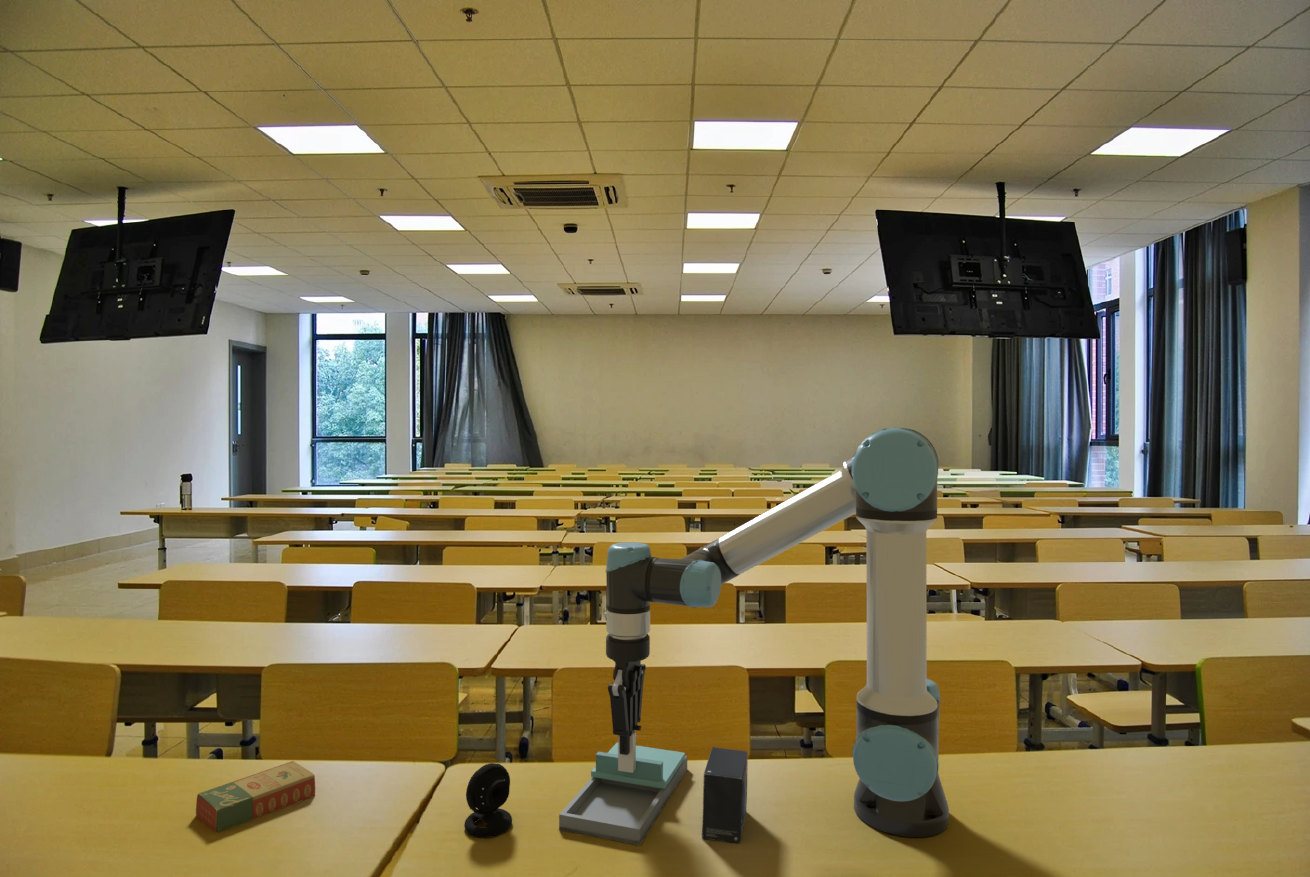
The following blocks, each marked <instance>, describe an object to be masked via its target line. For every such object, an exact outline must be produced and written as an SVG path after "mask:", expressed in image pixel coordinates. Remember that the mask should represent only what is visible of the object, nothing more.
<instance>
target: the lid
mask: <svg viewBox="0 0 1310 877" xmlns="http://www.w3.org/2000/svg"><path fill="white" fill-rule="evenodd" d="M685 756H686V752H682V751H677V750H668V749H662V748H656V747H649V746H643V745H636V770H635V771H634V772H633V773H630V772H624V771H618V742H616V743H615V744H614V745H613V746H612V747H611V748H610V749H609V751H608V752H604V751H597V753H595V766H594V767H593V768H592V770H591V771H590V777H591V778H592V777H596V778H602V779H608V780H614V781H620V782H626V783H632V784H638V785H644V786H650V787H656V788H662V789H665V788H666V786H667V785H668V783H669V782H670V780H671V779H672V777H673V776H674V774H675V773H676V771H677V770H678V768H679V767H680V765H681V764H682V762H683V760H684V759H685Z"/></svg>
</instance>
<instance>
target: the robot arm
mask: <svg viewBox="0 0 1310 877" xmlns="http://www.w3.org/2000/svg"><path fill="white" fill-rule="evenodd" d="M842 463H843V464H842V467H841V469H840V470H838V471H837V472H834V473H833V474H831V475H829V476H828V477H826V478H823V479H822V480H820V481H819V482H817V483H815V484H813V485H812V486H810V487H807V488H806V489H804V490H803V491H800V492H799V493H797V494H795V495H794V496H792V497H790V498H788V499H786V500H784V501H783V502H780V503H779V504H777V505H775V506H774V507H772V508H770V509H768V510H767V511H764V512H763V513H762V514H759V515H757V516H756V517H754V518H752V519H751V520H749V521H747V522H745V523H743V524H741V525H740V526H738V527H736V528H734V529H733V530H731V531H729V532H727V533H726V534H723V535H722V536H720V537H718V538H717V539H715V540H712V541H711V542H709V543H707V544H705V545H703V546H701V547H700V548H698V549H696V550H695V551H693V552H691V553H689V554H686V555H684V556H683V557H681V558H663V557H656V556H652V552H651V547H650V545H649V544H647V543H641V542H638V541H637V542H635V541H634V542H633V541H632V542H629V541H627V542H617V543H613V544H611V545H610V546H609V547H608V549H607V556H606V566H605V567H606V569H605V574H606V576H605V578H606V607H605V608H606V612H604V613H603V617H604V618H605V619H606V624H605V628H606V633H607V635H606V636H605V656H606V657H607V658H608V659H609V660H612V661H613V662H614V664H615V665H614V669H613V671H612V672H613V673H612V678H613V680H614V682H613V683H609V684H608V685H607V691H608V694H609V699H610V709H611V710H610V712H611V719H612V720H611V722H612V735H615V736H618V737H617V738H618V739H617V743H618V771H624V772H630V773H633V772H634V771H635V770H636V746H637V732H641V730H642V725H639V723H640V722H641V720H642V719H641V716H642V707H643V705H642V704H643V692H644V679H645V675H646V669H647V666H646V664H645V663H641V661H644V660H646V659H647V658H648V657H650V653H651V652H650V651H651V650H650V649H651V648H650V645H651V644H650V643H651V640H650V639H651V638H650V637H651V636H650V635H649V633H650V632H651V603H656V604H657V603H659V604H667V605H675V606H683V607H690V608H694V609H695V608H712V607H714V606H715V605H716V604H717V602H718V599H719V598H720V595H721V594H720V593H721V588H722V585H724V584H725V583H728V582H730V581H731V580H733V579H735V578H736V577H738V576H740V575H742V574H744V573H745V572H748V571H749V570H752V569H753V568H755V567H757V566H758V565H761V564H762V563H765V562H767V561H768V560H771V559H772V558H774V557H776V556H778V555H780V554H781V553H784V552H785V551H787V550H789V549H791V548H793V547H795V546H797V545H799V544H801V543H803V542H804V541H806V540H808V539H811V538H812V537H815V535H818V534H820V533H822V532H823V531H826V530H828V529H829V528H831V527H833V526H835V525H836V524H838V523H840V522H842V521H844V520H846V519H848V518H850V517H852V516H853V515H855V518H856V519H857V520H858V522H860V523H861V524H862V525H863V526H864V528H865V530H866V535H865V536H866V539H865V540H866V556H865V557H866V562H865V563H866V684H865V686H864V687H863V688H861V689H860V690H859V691H858V692H857V693H856V733H855V734H856V735H855V737H856V738H855V740H854V742H853V746H852V752H851V753H852V760H853V767H854V770H855V773H856V775H857V776H858V778H859V779H858V782H857V785H856V788H855V790H854V794H853V810H854V812H855V814H856V815H857V817H858V818H859V819H860V820H862V821H863V822H864V824H867V825H868V826H870V827H872V828H874V829H876V830H878V831H881V832H883V833H887V834H891V835H894V836H900V837H906V838H927V837H932V836H936V835H939V834H940V833H942V832H944V831H946V829H947V828H948V827H949V823H950V821H949V818H950V814H949V813H950V809H949V804H948V800H947V797H946V793H945V791H944V787H943V785H942V781H941V779H940V778H941V777H940V775H939V764H940V763H939V758H940V757H939V753H940V752H939V751H940V749H939V748H940V747H939V746H940V745H939V744H940V742H939V740H940V703H941V701H942V699H941V696H940V688H939V685H938V684H937V683H936V682H935V681H933V680H931V679H929V678H928V677H927V673H928V671H927V669H928V668H927V667H928V665H927V661H928V660H927V641H928V639H927V618H928V617H927V616H928V615H927V531H928V529H929V528H930V527H931V526H933V524H934V523H935V522H936V521H938V478H939V477H938V476H939V456H938V453H937V450H936V449H935V447H934V445H933V444H932V442H931V440H929V439H928V437H926V436H925V435H924V434H922V433H921V432H918V431H917V430H915V429H913V428H912V429H911V428H906V427H896V426H894V427H887V428H886V427H885V428H882V429H879V430H877V431H875V432H873V433H871V434H870V435H868V436H867V437H866V438H864V440H862V442H861V443H860V445H859V446H857V449H856V451H855V453H854V455H852V456H851V457H849V458H848V459H846V460H844V461H843V462H842ZM636 731H637V732H636Z"/></svg>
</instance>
